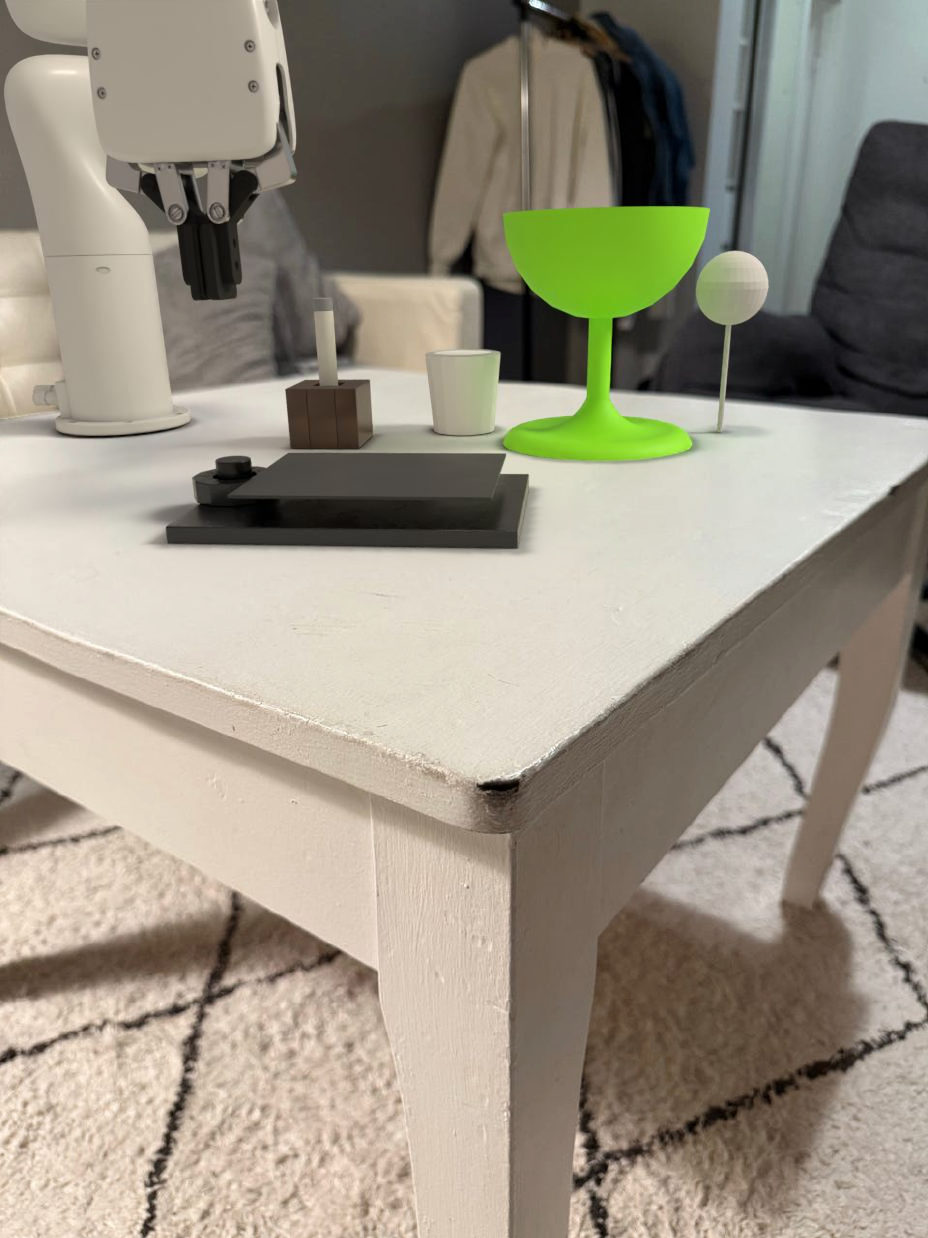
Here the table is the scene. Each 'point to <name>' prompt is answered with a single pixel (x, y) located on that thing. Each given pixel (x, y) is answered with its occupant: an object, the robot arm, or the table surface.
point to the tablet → (351, 519)
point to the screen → (377, 477)
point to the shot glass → (463, 390)
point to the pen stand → (329, 414)
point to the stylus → (325, 341)
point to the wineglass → (602, 312)
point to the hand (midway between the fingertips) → (215, 298)
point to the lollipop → (731, 298)
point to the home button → (233, 467)
